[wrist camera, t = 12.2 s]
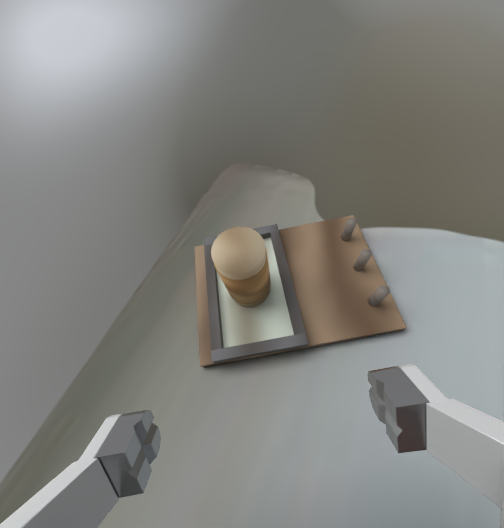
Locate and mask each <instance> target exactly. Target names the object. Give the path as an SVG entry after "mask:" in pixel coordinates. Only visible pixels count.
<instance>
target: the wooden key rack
mask: <svg viewBox="0 0 504 528" xmlns="http://www.w3.org/2000/svg"><path fill="white" fill-rule="evenodd" d="M253 230H255V231H256V232H258V233H259V234H260V235H261V236H262V238H263V240H264V243H265V247H266V250H267V256H268V264H269V272H270V281H271V285H270V293H269V295H268V297H267V299H266V300H265V301H264V302H263V303H261V304H260V305H257V306H254V307H244V306H241V305H239V304H238V303H236V302H235V301H234V299H233V298H232V297H231V296H230V294H229V292H228V291H227V289H226V287H225V285H224V283H223V281H222V279H221V278H220V276H219V274H218V272H217V270H216V268H215V266H214V262H213V260H212V257H211V248H212V245H213V243H214V241H215V239H216V238H217V237H218V236H215V237H210V238H205V239H204V245H200V246H195V266H196V288H197V310H198V332H199V354H200V366H202V367H206V366H211V365H217V364H222V363H227V362H233V361H238V360H244V359H249V358H255V357H260V356H265V355H271V354H276V353H282V352H287V351H292V350H298V349H303V348H309V347H314V346H319V345H325V344H330V343H336V342H341V341H347V340H352V339H357V338H363V337H368V336H374V335H379V334H384V333H390V332H395V331H401V330H404V329H405V328H407V327H406V325H405V323H404V321H403V319H402V317H401V314H400V312H399V310H398V308H397V306H396V304H395V302H394V300H393V298H392V295H391V293H390V290H389V288H388V287H387V285H386V283H385V281H384V279H383V277H382V274H381V272H380V270H379V268H378V266H377V264H376V262H375V260H374V258H373V255H372V252H371V251H370V249H369V247H368V245H367V243H366V241H365V239H364V237H363V234H362V232H361V230H360V228H359V226H358V224H357V221H356V220H355V218H354V216H353V215H351V216H346V217H341V218H336V219H331V220H326V221H321V222H316V223H311V224H306V225H301V226H296V227H291V228H286V229H281V230H278V226H277V224H275V225H270V226H265V227H260V228H255V229H253Z"/></svg>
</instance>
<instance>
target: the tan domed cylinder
mask: <svg viewBox="0 0 504 528" xmlns="http://www.w3.org/2000/svg"><path fill="white" fill-rule="evenodd" d="M211 257H212V260H213V262H214V266H215V268H216V270H217V272H218V274H219V276H220V278H221V279H222V281H223V283H224V285H225V287H226V289H227V291H228V292H229V294H230V296H231V297H232V298H233V299H234V301H235V302H236V303H238V304H239V305H241V306H244V307H254V306H257V305H260V304H261V303H263V302H264V301H265V300H266V299H267V297H268V295H269V293H270V285H271V281H270V272H269V264H268V256H267V250H266V247H265V243H264V240H263V238H262V236H261V235H260V234H259V233H258V232H256V231H255V230H253V229H251V228H247V227H234V228H231V229H228V230H226V231H224V232H223V233H221V234H220V235H219V236H218V237H217V238H216V239H215V241H214V243H213V245H212V248H211Z"/></svg>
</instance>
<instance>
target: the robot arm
mask: <svg viewBox="0 0 504 528" xmlns="http://www.w3.org/2000/svg"><path fill="white" fill-rule="evenodd" d="M368 381H369V383H370V384H371V386H372V387H371V388H370V390H369V395H370V400H371V403H372V407H373V409H374V411H375V414H376V415H377V417H378V419H379V420H380V421H381V422H383V423H384V424H386V433H387V434H388V436H389V438H390V440H391V441H392V443H393V445H394V446H395V448H396V450H397V452H398V453H404V452H412V451H420V450H427V452H428V453H430V454H431V455H432V456H433V457H435V458H436V459H437V460H439V461H440V462H441V463H443V464H444V465H445V466H447V467H448V468H449V469H450V470H452V471H453V472H454V473H456V474H457V475H458V476H460V477H461V478H462V479H463V480H465V481H466V482H467V483H469V484H470V485H471V486H473V487H474V488H475V489H477V490H478V491H479V492H480V493H482V494H483V495H484V496H486V497H487V498H488V499H490V500H491V501H492V502H493V503H495V504H496V505H497V506H499V507H500V508H501V519H500V528H504V422H503V421H501V420H498V419H496V418H494V417H492V416H490V415H487V414H485V413H483V412H481V411H479V410H477V409H474V408H472V407H470V406H468V405H466V404H463V403H461V402H459V401H457V400H455V399H450V400H449V399H448V398H447V397H446V396H445V395H444V394H443V393H442V392H441V391H440V390H439V389H438V388H437V387H436V386H435V385H434V384H433V383H432V382H431V381H430V380H429V379H428V378H427V377H426V376H425V375H424V374H423V373H422V372H421V371H420V370H419V369H418V368H417V367H416V366H415V365H414V364H411V363H410V364H405V365H399V366H396V367H389V368H384V369H378V370H373V371H368ZM153 419H154V416H153V414H152V412H151V410H144V411H137V412H130V413H123V414H119V415H111V416H109V417H108V418H106V420H105V421H104V423H103V424H102V426H101V427H100V429H99V430H98V432H97V433H96V435H95V436H94V438H93V439H92V441H91V442H90V444H89V445H88V447H87V448H86V450H85V452H84V453H83V455H82V456H81V458H80V459H79V461H76V462H73V463H72V464H71V465H70V466H68V467H67V468H66V469H65V470H64V471H63V472H61V473H60V474H59V475H58V476H57V477H56V478H54V479H53V480H52V481H51V482H50V483H48V484H47V485H46V486H45V487H44V488H43V489H41V490H40V491H39V492H38V493H37V494H35V495H34V496H33V497H32V498H31V499H30V500H28V501H27V502H26V503H25V504H24V505H22V506H21V507H20V508H19V509H18V510H17V511H15V512H14V513H13V514H12V515H11V516H9V517H8V518H7V519H6V520H5V521H4V522H2V523H1V524H0V528H97V527H98V526H99V525H100V523H101V522H102V521H103V519H104V518H105V517H106V516H107V514H108V513H109V512H110V510H111V509H112V508H113V506H114V505H115V504H116V503H117V501H118V500H119V499H118V498H121V497H126V496H131V495H137V494H142V493H144V491H145V488H146V485H147V482H148V480H149V477H150V474H151V471H152V470H151V466H150V464H151V463H152V462H153V460H154V459H155V458H156V457H157V454H158V452H159V449H160V441H161V437H160V431H159V428H158V426H156V425H155V424H153V423H152V421H153Z"/></svg>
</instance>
